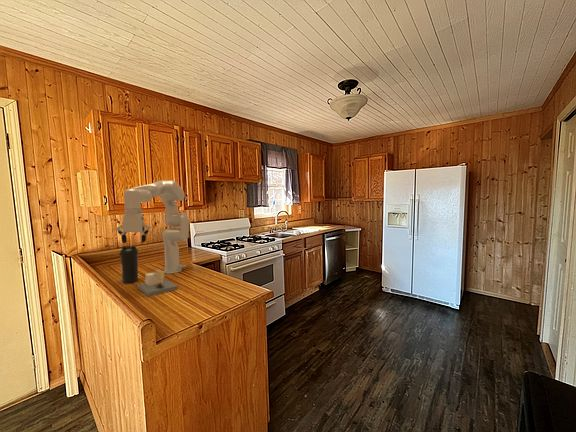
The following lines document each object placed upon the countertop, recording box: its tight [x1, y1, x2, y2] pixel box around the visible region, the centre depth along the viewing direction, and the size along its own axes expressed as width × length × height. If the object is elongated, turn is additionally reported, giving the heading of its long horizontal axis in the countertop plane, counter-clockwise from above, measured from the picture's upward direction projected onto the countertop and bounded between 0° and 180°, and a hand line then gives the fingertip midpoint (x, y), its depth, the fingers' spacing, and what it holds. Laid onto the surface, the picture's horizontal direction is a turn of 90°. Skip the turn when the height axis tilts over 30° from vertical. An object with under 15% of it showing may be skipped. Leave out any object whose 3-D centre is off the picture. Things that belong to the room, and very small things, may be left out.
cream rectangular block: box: [144, 272, 164, 286], centre depth 154 cm, size 8×6×6 cm
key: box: [152, 268, 166, 287], centre depth 149 cm, size 2×14×9 cm, turn 44°
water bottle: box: [118, 245, 139, 285], centre depth 164 cm, size 10×10×23 cm
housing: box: [137, 278, 179, 297], centre depth 151 cm, size 16×20×2 cm
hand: (134, 242), depth 142 cm, fingers open, 9 cm apart
